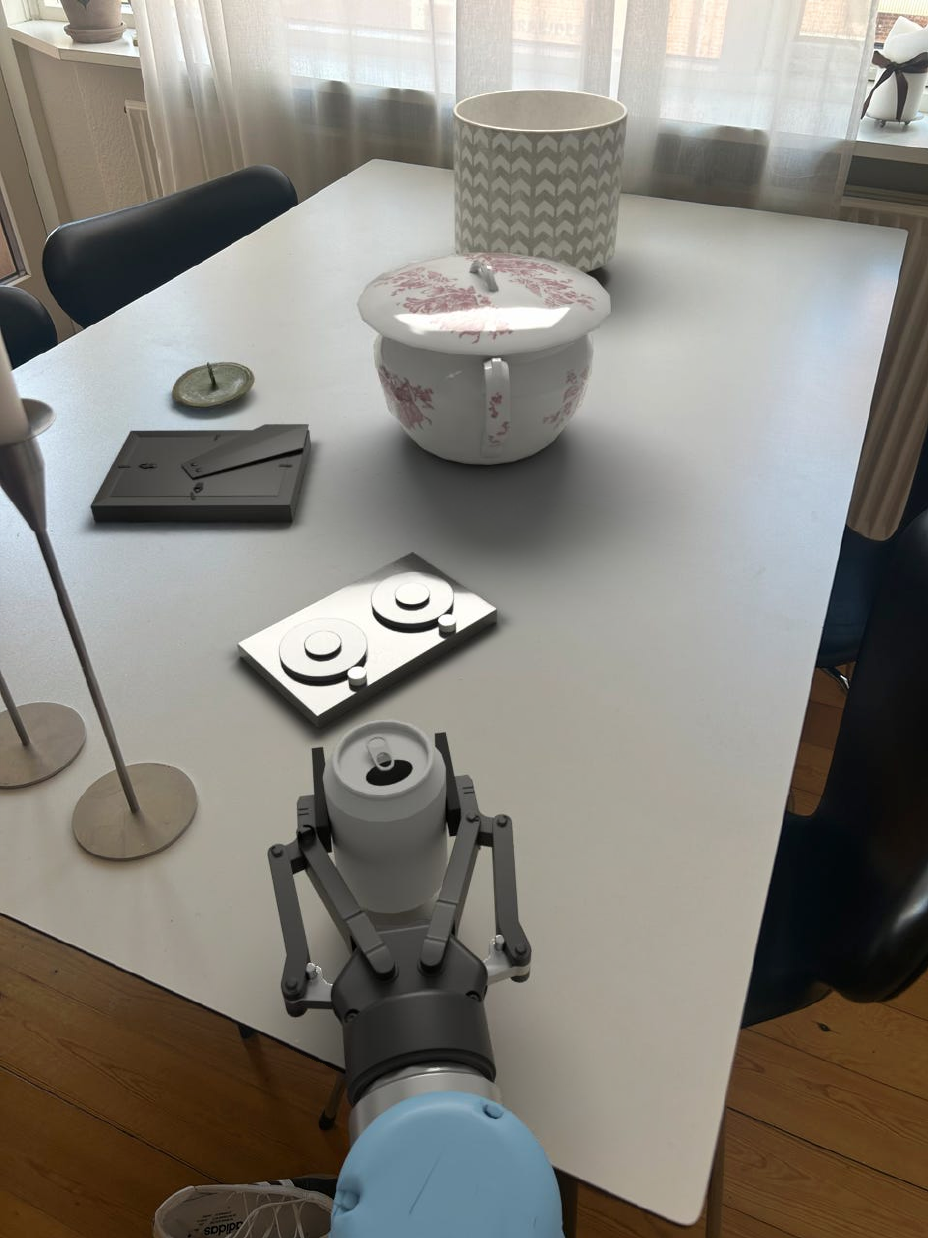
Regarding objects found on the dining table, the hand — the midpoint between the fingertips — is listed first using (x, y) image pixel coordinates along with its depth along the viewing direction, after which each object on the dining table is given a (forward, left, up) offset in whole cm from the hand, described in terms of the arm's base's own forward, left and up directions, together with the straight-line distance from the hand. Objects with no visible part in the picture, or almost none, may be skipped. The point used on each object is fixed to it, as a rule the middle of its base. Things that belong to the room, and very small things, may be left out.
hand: (380, 754), depth 65 cm
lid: (-68, +27, -9) cm, 74 cm away
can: (+4, -3, -7) cm, 8 cm away
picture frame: (-51, +15, -9) cm, 54 cm away
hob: (-18, +12, -9) cm, 23 cm away
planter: (-70, +86, -9) cm, 111 cm away
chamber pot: (-38, +45, -9) cm, 59 cm away
